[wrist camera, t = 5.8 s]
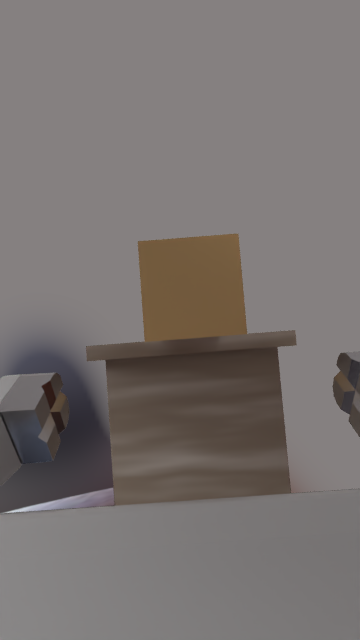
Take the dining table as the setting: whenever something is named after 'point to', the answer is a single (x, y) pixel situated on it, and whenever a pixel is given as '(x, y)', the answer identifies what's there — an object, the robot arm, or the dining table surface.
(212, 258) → the ochre bar
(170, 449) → the birch pedestal
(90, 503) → the dining table surface
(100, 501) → the dining table surface
